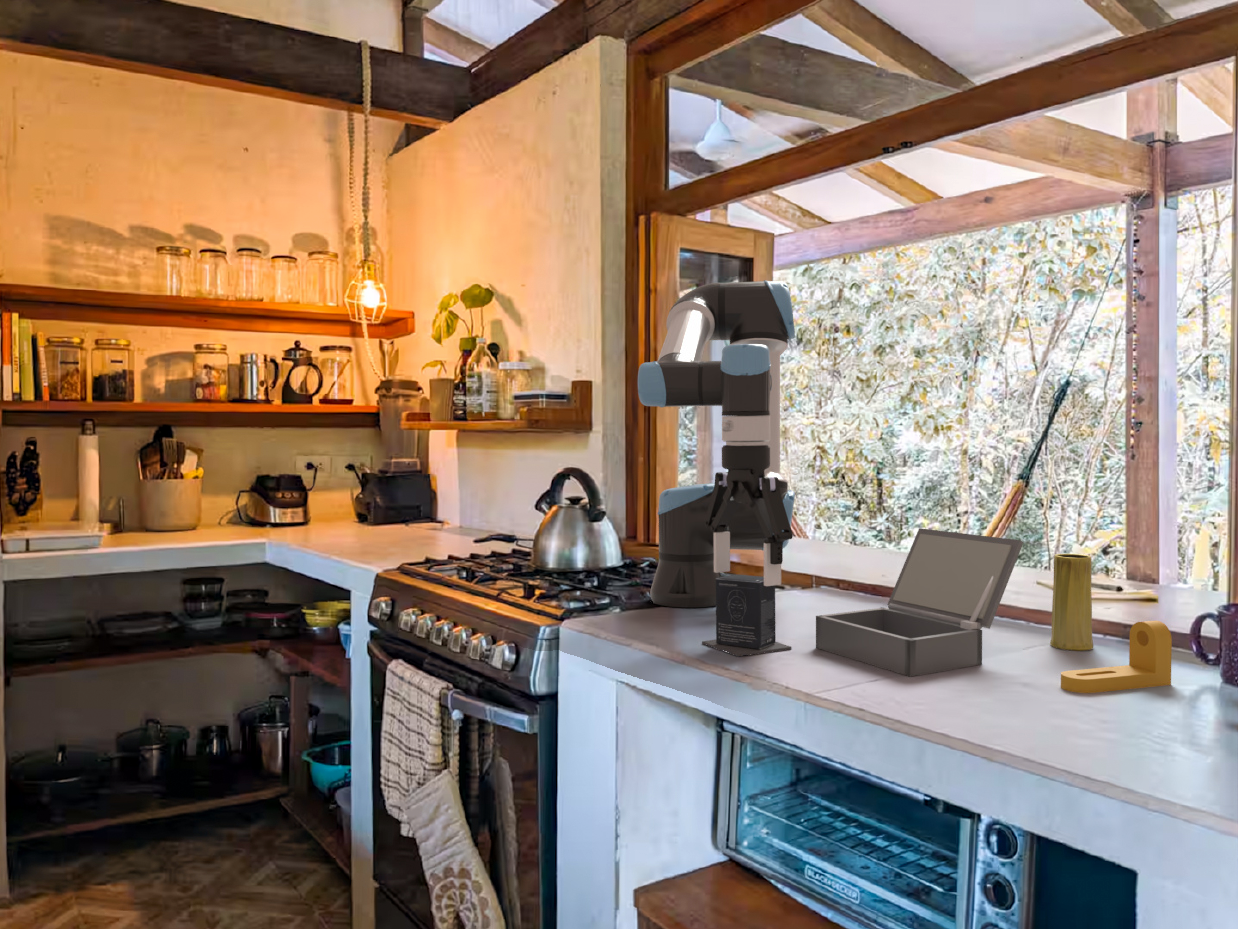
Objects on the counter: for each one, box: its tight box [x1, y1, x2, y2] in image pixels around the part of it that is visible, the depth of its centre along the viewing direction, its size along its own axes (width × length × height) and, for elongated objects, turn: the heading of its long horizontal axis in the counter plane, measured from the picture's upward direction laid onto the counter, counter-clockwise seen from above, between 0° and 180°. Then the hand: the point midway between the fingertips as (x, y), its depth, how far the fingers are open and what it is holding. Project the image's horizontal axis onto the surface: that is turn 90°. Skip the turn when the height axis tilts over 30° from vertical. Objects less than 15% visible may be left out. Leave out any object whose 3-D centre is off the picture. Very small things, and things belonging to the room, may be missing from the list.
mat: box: [701, 639, 792, 657], centre depth 149 cm, size 10×10×1 cm
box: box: [715, 573, 776, 649], centre depth 149 cm, size 8×6×11 cm
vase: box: [1049, 553, 1094, 652], centre depth 147 cm, size 6×6×14 cm
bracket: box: [1060, 620, 1173, 694], centre depth 125 cm, size 15×4×8 cm, turn 106°
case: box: [815, 527, 1024, 677], centre depth 144 cm, size 20×22×18 cm
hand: (746, 578), depth 149 cm, fingers open, 13 cm apart
